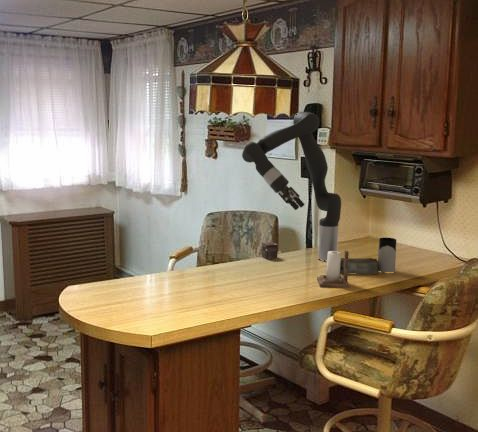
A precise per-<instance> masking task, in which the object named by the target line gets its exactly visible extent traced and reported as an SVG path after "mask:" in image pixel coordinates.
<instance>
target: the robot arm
mask: <svg viewBox="0 0 478 432" xmlns="http://www.w3.org/2000/svg"><path fill="white" fill-rule="evenodd" d="M296 114H297V115H296ZM296 114H295V115H294V117H293V121H292V122H293V124H292V125H290V126H287V127H284V128H280V129H276V130H274V131H272V132H270V133H268V134H266V135H264V136H262V137H261V138H260V139H259V140H258V141H257V142H254V141H248V142H247V143H246V144H245V146H244V148H243V150H242V153H241V157H242V159H243V161H245V162H246V163H254V164H255V170H256V171H257V173H258V174H259V175H260V176H261V177H262V178H263V179H264V181H265V183H266V184H267V185H268V186H269V187H270V189H272V190H273V191H274V193H275V194H278V196H280V198H281V199H282V200H283V202H285V204H289V205H290V207H292V209H294V211H298V209H299V208H303V207H305V203H304V202H303V200H301V199H300V194H298V192H297V191H296V190H295V189H294V188H293V187H292V186H288V184H289V182H290V181H289V180H288V179H287V178H286V177H285V176H284V174H283V173H282V172H281V171H280V170H279V169H278V168H277V167H276V166H275V165H274V164H273V163H272V162H271V161H270V160H269V157H267V153H269V152H271V151H273V150H274V149H276V148H279V147H281V146H282V145H283V144H285V143H288V142H290V141H292V140H294V139H297V138H298V140H299V142H300V145H301V149H302V151H303V155H304V159H305V163H306V166H307V170H308V172H309V175H310V179H311V180H310V181H311V182H312V186H313V193H314V198H315V202H316V203H315V204H316V206H317V208H318V209H319V210H320V211H323V212H326V215H325V217H323V218H320V219H319V222H318V223H319V224H318V226H319V227H318V250H317V251H318V252H317V259H318V258H319V259H322V260H327V255H328V252H329V251H337V252H338V244H339V243H338V240H339V239H338V238H339V237H338V236H339V222H340V220H341V211H342V210H341V209H342V199H341V196H340V194H338V193H334V192H328V190H327V187H326V178H327V177H326V176H327V174H328V169H329V166H328V163H327V159H326V156H325V152H324V151H323V150H322V148H321V147H320V145H319V144H318V143H317V140H316V139H315V137H314V135H313V133H314V132H315V131H316V130H317V129H318V128H319V126H320V117H319V116H318V115H317V114H316V113H313V112H309V111H299V112H297V113H296ZM319 259H318V260H319Z"/></svg>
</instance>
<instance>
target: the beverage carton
mask: <svg viewBox="0 0 478 432" xmlns="http://www.w3.org/2000/svg"><path fill="white" fill-rule="evenodd" d="M340 273H344V257H341V263H340ZM348 273H356V274H355V275H365V274H378V275H379V272H378V258H371V257H370V258H369V257H367V258H365V257H364V258H358V257H357V258H355V257H354V258H351V257H348Z"/></svg>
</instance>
